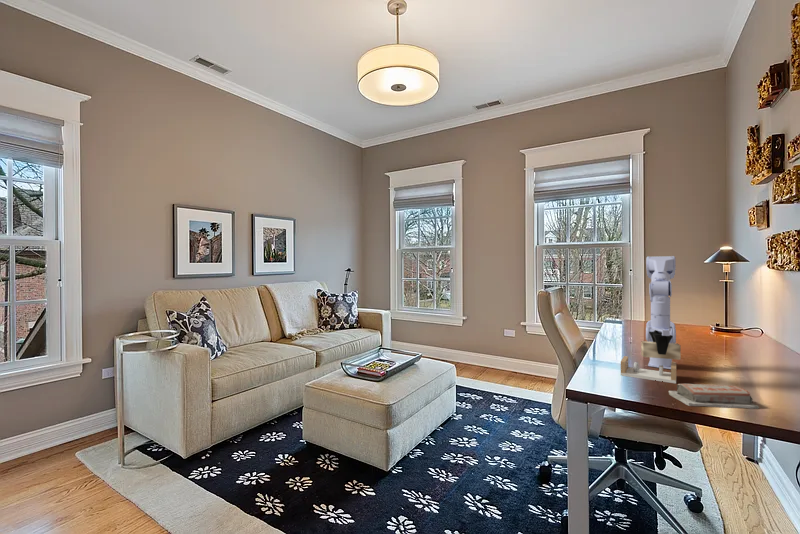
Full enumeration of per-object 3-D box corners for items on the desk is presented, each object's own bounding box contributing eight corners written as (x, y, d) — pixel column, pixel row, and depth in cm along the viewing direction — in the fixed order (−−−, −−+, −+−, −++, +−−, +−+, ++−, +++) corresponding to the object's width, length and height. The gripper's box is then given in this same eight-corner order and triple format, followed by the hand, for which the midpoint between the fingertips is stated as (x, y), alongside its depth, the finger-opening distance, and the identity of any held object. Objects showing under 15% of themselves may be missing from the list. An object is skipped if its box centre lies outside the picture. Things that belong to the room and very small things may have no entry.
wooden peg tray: (624, 368, 146) (624, 355, 146) (676, 376, 136) (676, 362, 136) (620, 375, 137) (620, 361, 137) (676, 383, 127) (676, 368, 127)
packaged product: (732, 382, 114) (759, 393, 104) (732, 398, 114) (759, 410, 104) (667, 380, 116) (688, 390, 107) (667, 395, 116) (688, 407, 107)
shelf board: (677, 357, 134) (677, 343, 134) (680, 359, 131) (680, 345, 131) (641, 354, 138) (641, 341, 138) (643, 356, 135) (643, 342, 135)
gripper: (642, 312, 143) (642, 348, 143) (652, 316, 129) (652, 356, 129) (664, 313, 140) (665, 349, 140) (676, 317, 127) (676, 358, 127)
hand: (660, 353), depth 135 cm, fingers closed on shelf board, 3 cm apart
